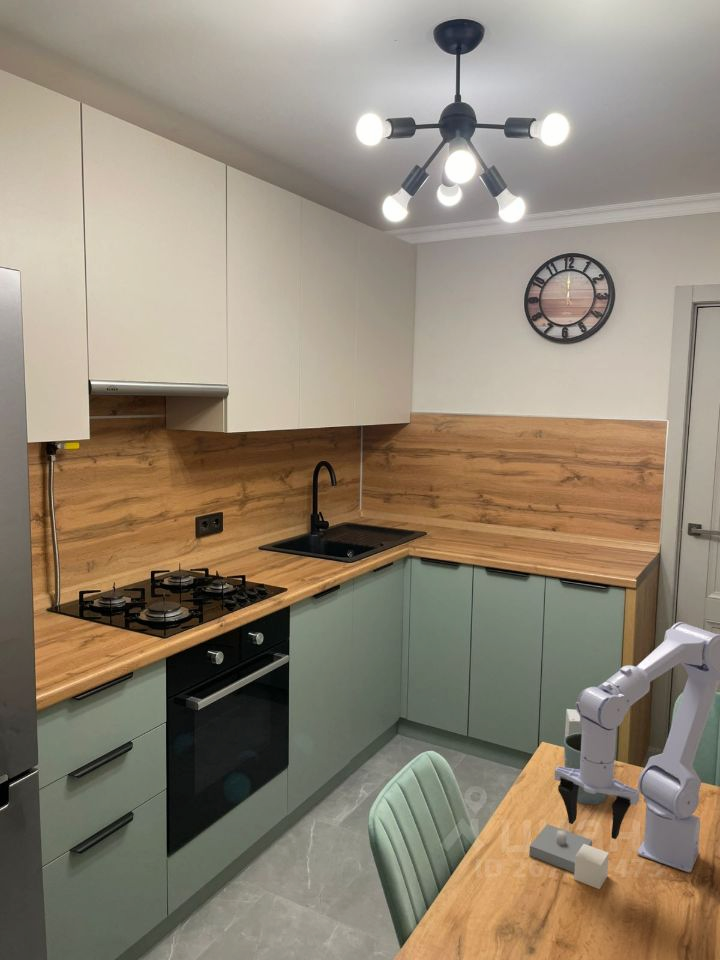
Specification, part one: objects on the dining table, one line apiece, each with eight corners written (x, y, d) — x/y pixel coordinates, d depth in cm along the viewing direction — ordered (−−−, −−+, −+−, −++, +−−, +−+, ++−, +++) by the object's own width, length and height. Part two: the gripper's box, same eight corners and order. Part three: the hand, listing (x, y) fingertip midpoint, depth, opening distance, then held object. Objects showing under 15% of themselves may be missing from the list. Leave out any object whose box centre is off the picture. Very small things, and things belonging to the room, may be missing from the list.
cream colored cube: (607, 876, 132) (608, 852, 131) (599, 889, 128) (601, 865, 128) (582, 866, 134) (583, 843, 134) (574, 879, 131) (575, 855, 130)
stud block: (591, 849, 140) (592, 830, 139) (576, 873, 132) (577, 853, 132) (546, 833, 145) (547, 814, 144) (529, 855, 137) (530, 835, 137)
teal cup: (607, 786, 164) (610, 735, 162) (611, 810, 154) (615, 756, 153) (560, 780, 166) (563, 729, 165) (562, 803, 156) (565, 750, 155)
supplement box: (598, 776, 168) (601, 723, 167) (565, 772, 170) (568, 720, 168) (594, 761, 175) (597, 710, 174) (563, 757, 177) (565, 707, 176)
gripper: (549, 752, 130) (546, 824, 131) (633, 777, 122) (628, 854, 123) (563, 738, 136) (560, 807, 137) (644, 761, 127) (639, 834, 129)
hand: (593, 828), depth 130 cm, fingers open, 7 cm apart
